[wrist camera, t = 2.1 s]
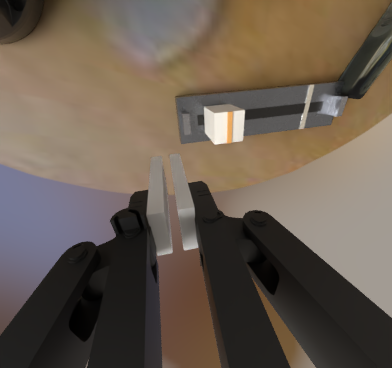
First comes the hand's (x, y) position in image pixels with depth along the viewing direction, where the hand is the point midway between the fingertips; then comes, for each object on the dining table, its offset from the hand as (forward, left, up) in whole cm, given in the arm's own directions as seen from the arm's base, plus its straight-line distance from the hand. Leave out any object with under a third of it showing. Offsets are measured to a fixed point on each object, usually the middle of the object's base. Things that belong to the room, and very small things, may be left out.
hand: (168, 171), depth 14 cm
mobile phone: (-8, +35, -19) cm, 40 cm away
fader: (0, +8, -16) cm, 18 cm away
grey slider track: (0, +17, -18) cm, 25 cm away
